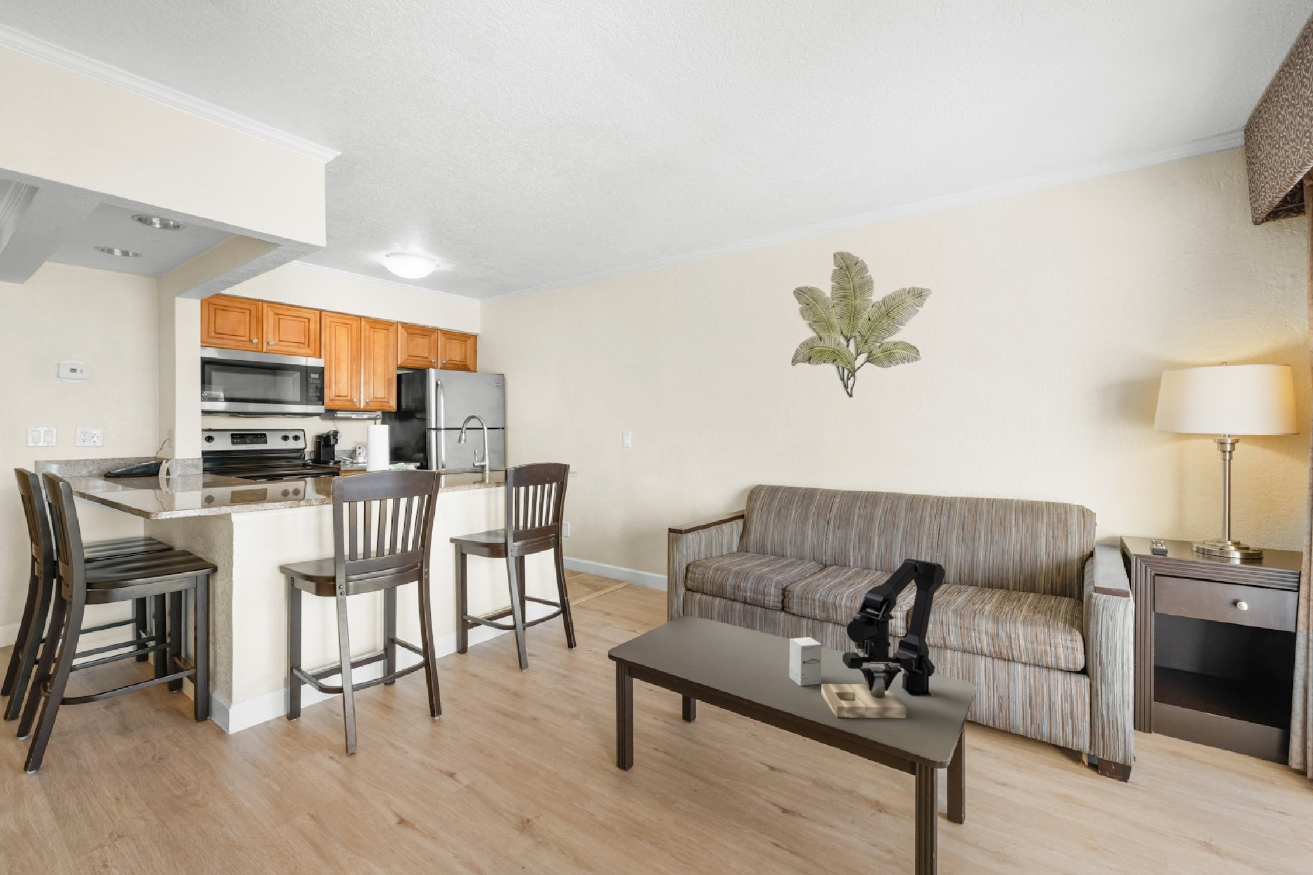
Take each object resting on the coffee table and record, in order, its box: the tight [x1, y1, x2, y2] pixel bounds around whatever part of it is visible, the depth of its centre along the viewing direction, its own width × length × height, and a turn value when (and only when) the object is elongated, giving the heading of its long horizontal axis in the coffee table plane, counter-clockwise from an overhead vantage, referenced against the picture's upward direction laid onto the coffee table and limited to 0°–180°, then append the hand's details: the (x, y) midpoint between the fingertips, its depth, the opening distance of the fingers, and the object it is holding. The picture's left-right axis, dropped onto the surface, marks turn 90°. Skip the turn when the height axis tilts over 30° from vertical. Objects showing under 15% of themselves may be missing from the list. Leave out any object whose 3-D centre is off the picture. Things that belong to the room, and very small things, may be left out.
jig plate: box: [820, 683, 907, 719], centre depth 170 cm, size 19×15×3 cm
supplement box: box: [788, 636, 822, 687], centre depth 187 cm, size 7×7×13 cm
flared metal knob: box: [869, 666, 888, 698], centre depth 170 cm, size 5×5×7 cm
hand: (877, 690), depth 170 cm, fingers closed on flared metal knob, 4 cm apart
